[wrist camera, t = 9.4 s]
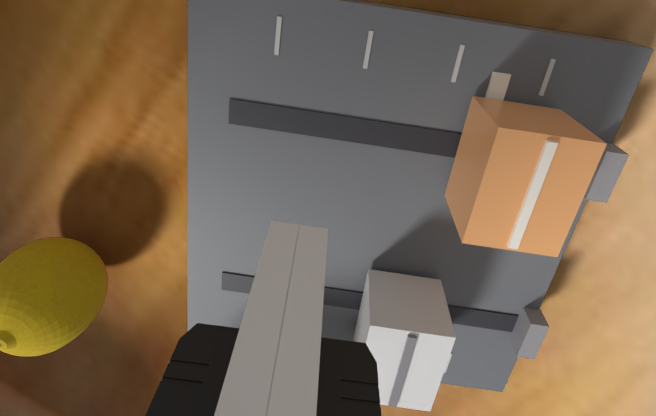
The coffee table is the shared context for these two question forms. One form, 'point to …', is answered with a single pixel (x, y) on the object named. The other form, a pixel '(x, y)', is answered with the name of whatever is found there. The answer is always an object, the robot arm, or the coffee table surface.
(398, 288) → the fader grey
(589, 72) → the console
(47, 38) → the coffee table surface
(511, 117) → the fader orange
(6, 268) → the lemon
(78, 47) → the coffee table surface
